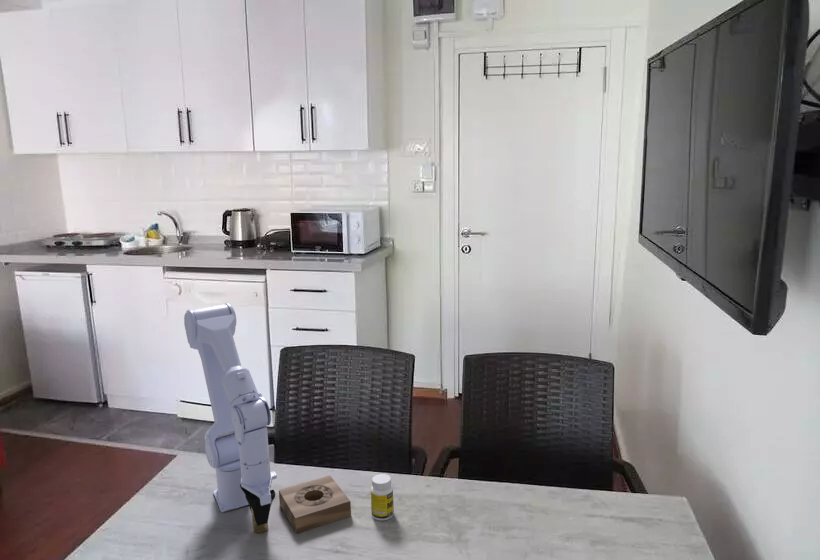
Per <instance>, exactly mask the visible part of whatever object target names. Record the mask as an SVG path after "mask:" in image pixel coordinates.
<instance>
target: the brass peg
mask: <svg viewBox="0 0 820 560" xmlns="http://www.w3.org/2000/svg"><path fill="white" fill-rule="evenodd" d="M251 494H252V493H251ZM251 510H252V508H251ZM251 510H250V511H251ZM251 518H252V528H253V529H252V530H253V533H254V534H255V535H263V534H265V533H267V532H268V531H269V522H268V523H266V524H263V525H260V526H257V524H256V521H255V518H254V514H253V510H252V513H251Z"/></svg>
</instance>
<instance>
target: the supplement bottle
mask: <svg viewBox="0 0 820 560" xmlns="http://www.w3.org/2000/svg"><path fill="white" fill-rule="evenodd" d="M370 508H371V517H372V518H373V519H374V520H377V521H381V522H382V521H388V520H391V518H392V517H393V516H394V488H393V485H392V478H391V476H390V475H388V474H386V473H379V474H375V475H374V476H372V477H371V487H370Z"/></svg>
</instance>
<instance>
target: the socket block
mask: <svg viewBox="0 0 820 560" xmlns="http://www.w3.org/2000/svg"><path fill="white" fill-rule="evenodd" d="M278 498H279V506H280V507H281V509H282V510H283V512H285V513H284V514H285V517H286V518H287V519H289V520H288V522H289V523H290V524H291V527H292V528H293V530H294V532H295V534H299V533H302V532H305V531H309V530H311V529H312V530H313V529H315V528H317V527H321V526H325V525H328V524H330V523H333V522H337V521H339V520H343V519H347V518H349V517H351V516H352V507H351V505H352V504H351V500H350V499H349V497H348V496H347V495H346V493H345V492H344V491H343V490H342V488H341V487H340V486H339V484H338V483H337V482H336V480H335V479H334V478H333V476H331V475H327V476H324V477H319V478H316V479H312V480H309V481H306V482H303V483H302V482H301V483H299V484H294V485H292V486H289V487H288V486H287V487H284V488H280V489H278ZM314 527H315V528H314Z"/></svg>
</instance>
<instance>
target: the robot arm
mask: <svg viewBox="0 0 820 560" xmlns="http://www.w3.org/2000/svg"><path fill="white" fill-rule="evenodd" d="M183 317H184V319H183V321H184V323H183V324H184V325H183V326H184V330H185V333H186V334H185V335H186V339H187V343H188V345H189V348H190V349H193V350H197V352H198V354H199V357H200V360H201V365H202V366H201V367H202V370H203V374H204V378H205V379H204V380H205V383H206V388H207V393H208V397H209V403H210V406H211V411H212V415H213V421H214V422H213V423H212V425H211V426H210V427H209V428H208V430H206V432H205V434H204V445H205V449H204V450H205V456H206V459H207V462H208V464H209V466H210V467H211V468H212V469H215V474H216V477H215V478H216V487H217V488H216V489H214V490H213V495H214V498H215V499H216V500H215V501H216V504H217V506H218V508H219V510H220V511H219V512H221V513H225V512H229V511H232V510H236V509H239V508H242V507H246V506H248V507H249V510H250V513H251V514H252V510H253V514H254V518H255V521H256V524H257V526H260V525H263V524H266V523H268V524H269V517H270V512H271V511H270V510H271V507H272V504H273V501H274V499H276V491H275V490H274V489H271V488H272V483H273V480H275V479H277V478H278V477H277V475H278V474H277V473H276V471H274V470H273V471H271V461H270V460H271V459H270V451H269V449H270V447H269V438H268V437H269V436H268V428H267V426H270V425H271V423H272V413H271V409H270V406H269V404H268V401H267V400H266V398H265V397H264V396H263V394H262V393H259V392H258V390H257V387H256V385H255V382H254V379H253V376H252V373H251V372H250V370H249V368H245V367H243V366H242V364H241V360H240V357H239V353H238V350H237V349H238V348H237V346H236V342H235V340H234V336H235V333H236V326H237V316H236V312H235V309H234V307H233V306H232V305H231V304H230V303H228V302H227V303H224V304H217V305H214V306H213V305H211V306H208V307H201V308H194V309H187V310H186V311H185V313H184V315H183ZM231 432H232V433H231ZM233 432H234V433H233ZM228 433H229V434H228ZM225 434H226V435H225ZM222 435H223V436H222ZM219 436H220V437H219ZM251 493H252V494H251ZM251 508H252V510H251Z"/></svg>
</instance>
